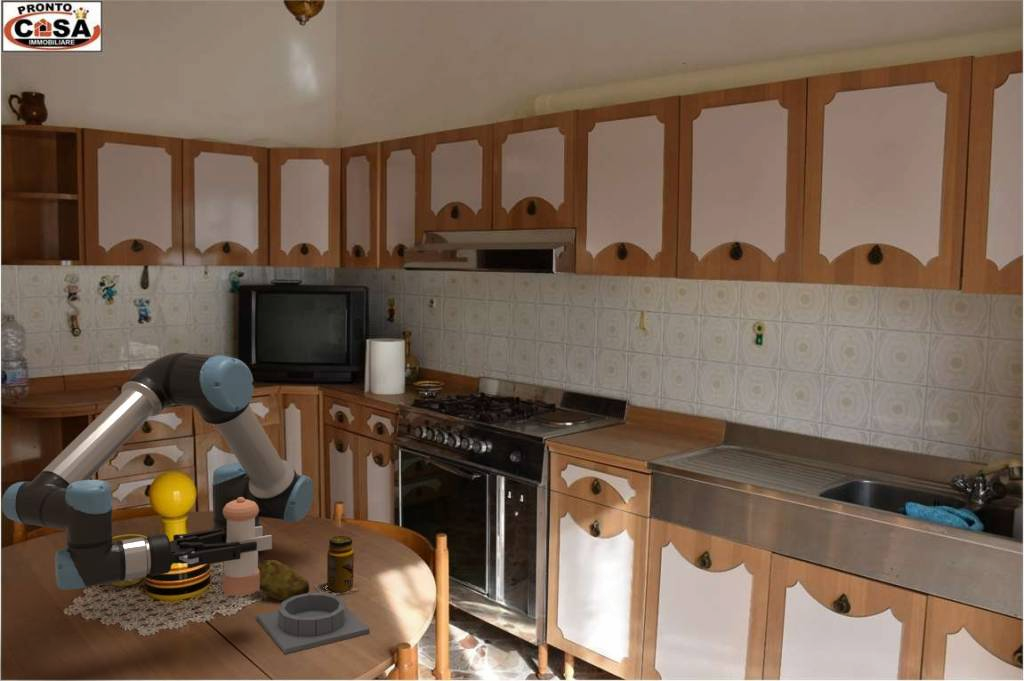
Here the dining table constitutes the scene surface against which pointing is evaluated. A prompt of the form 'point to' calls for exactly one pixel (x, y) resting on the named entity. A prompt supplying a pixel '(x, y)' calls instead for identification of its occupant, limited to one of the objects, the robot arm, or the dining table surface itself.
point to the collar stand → (311, 622)
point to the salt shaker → (244, 571)
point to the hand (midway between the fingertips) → (266, 537)
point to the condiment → (339, 566)
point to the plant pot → (119, 538)
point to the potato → (281, 580)
